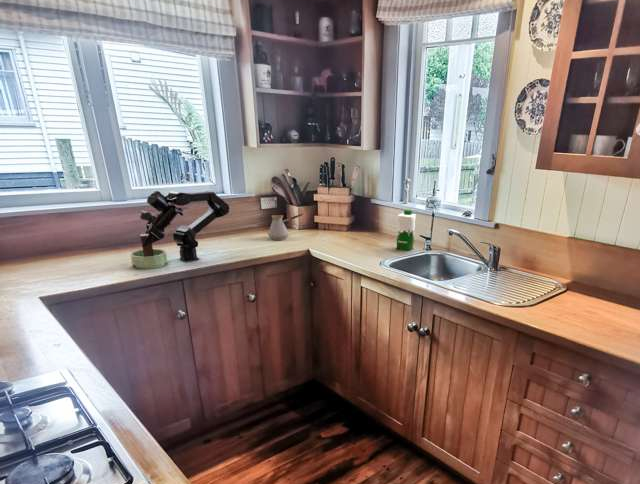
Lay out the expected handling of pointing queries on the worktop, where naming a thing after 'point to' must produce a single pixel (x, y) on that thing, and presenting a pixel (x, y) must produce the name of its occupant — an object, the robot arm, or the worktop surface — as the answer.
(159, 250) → the bowl
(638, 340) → the worktop surface
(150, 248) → the brown wooden block
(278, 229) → the coffee pot
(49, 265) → the worktop surface
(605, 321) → the worktop surface
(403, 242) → the milk carton
